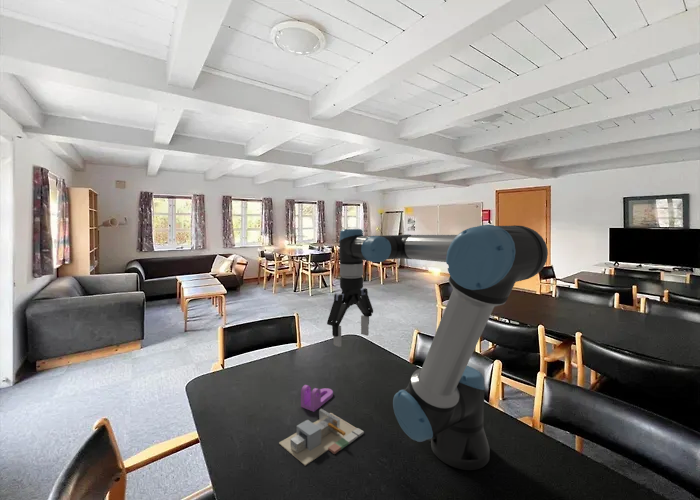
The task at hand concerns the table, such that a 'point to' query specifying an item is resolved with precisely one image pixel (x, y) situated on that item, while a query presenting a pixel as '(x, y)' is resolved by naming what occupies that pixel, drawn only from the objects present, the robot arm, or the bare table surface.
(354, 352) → the table surface
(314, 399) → the bracket
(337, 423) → the grey sliding clamp
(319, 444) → the beige mechanism board
